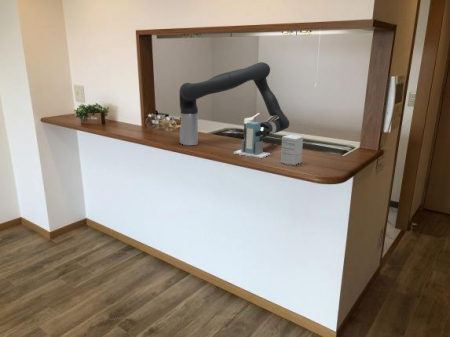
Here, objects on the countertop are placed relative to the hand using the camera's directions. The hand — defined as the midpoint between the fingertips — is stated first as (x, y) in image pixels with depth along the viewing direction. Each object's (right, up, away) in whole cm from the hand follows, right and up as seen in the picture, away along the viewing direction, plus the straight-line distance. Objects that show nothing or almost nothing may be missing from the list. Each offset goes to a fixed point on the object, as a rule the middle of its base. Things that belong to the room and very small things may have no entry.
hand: (250, 133), depth 181 cm
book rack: (+1, -10, +5) cm, 11 cm away
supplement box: (+18, -15, -8) cm, 25 cm away
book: (+1, -9, +5) cm, 10 cm away
